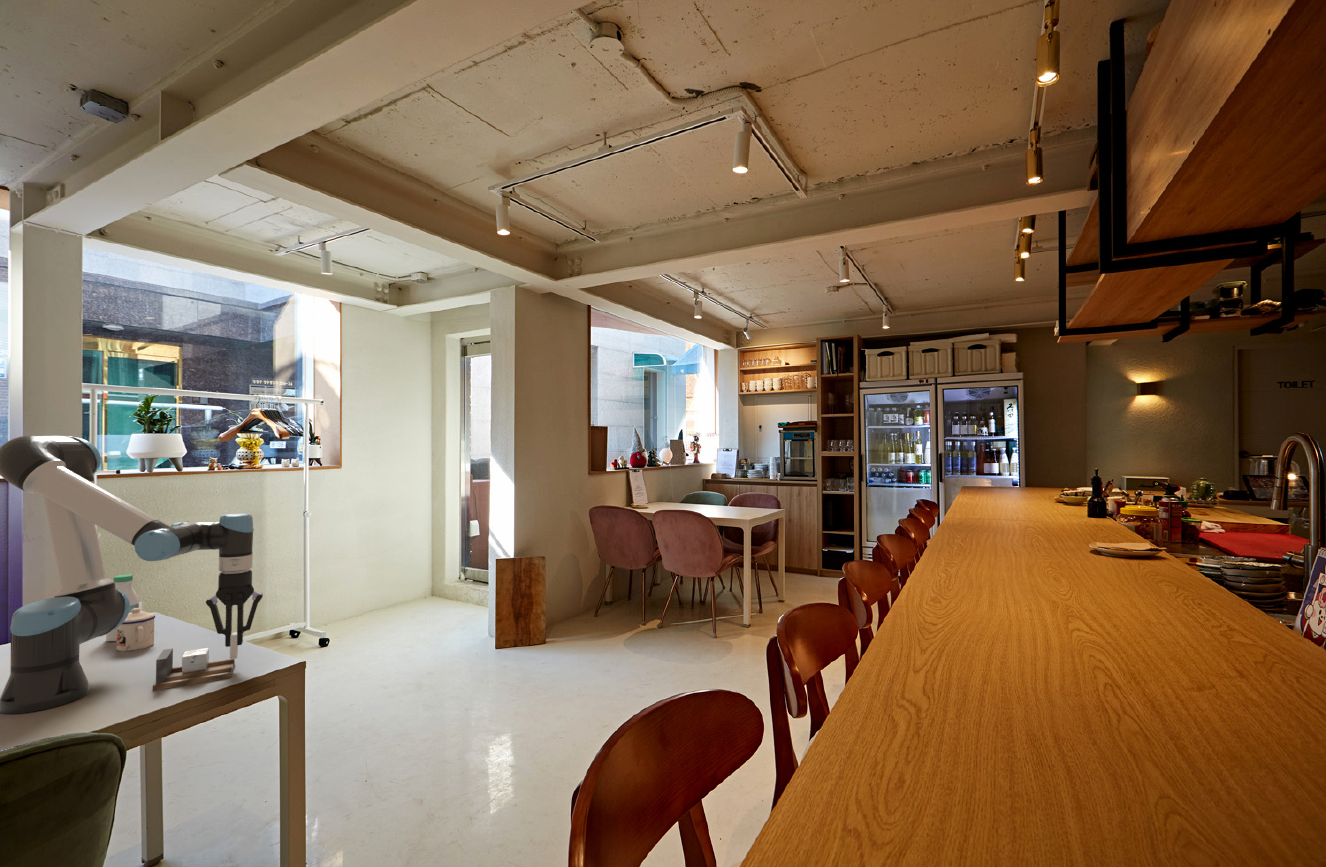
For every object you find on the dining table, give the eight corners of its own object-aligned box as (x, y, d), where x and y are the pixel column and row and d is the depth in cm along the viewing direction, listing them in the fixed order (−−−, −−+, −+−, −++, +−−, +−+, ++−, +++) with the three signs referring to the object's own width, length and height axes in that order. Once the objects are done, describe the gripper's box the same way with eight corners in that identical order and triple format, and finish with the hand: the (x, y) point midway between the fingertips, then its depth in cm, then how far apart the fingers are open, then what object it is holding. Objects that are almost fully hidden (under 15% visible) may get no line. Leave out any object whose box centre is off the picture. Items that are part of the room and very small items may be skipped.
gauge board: (152, 690, 151) (152, 661, 151) (161, 676, 160) (161, 648, 160) (230, 677, 159) (231, 650, 159) (234, 664, 169) (235, 638, 169)
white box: (179, 680, 153) (179, 661, 153) (185, 669, 161) (185, 651, 161) (204, 676, 156) (204, 657, 156) (208, 666, 163) (208, 647, 163)
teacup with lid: (112, 647, 183) (113, 609, 183) (151, 640, 190) (151, 603, 190) (120, 656, 176) (121, 616, 176) (160, 648, 183) (161, 609, 183)
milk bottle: (109, 644, 186) (110, 579, 187) (103, 639, 191) (104, 576, 192) (141, 637, 193) (142, 575, 193) (134, 633, 197) (135, 572, 198)
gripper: (203, 575, 158) (201, 666, 157) (263, 570, 165) (261, 657, 164) (207, 570, 164) (205, 657, 164) (264, 566, 171) (263, 649, 171)
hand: (233, 657), depth 164 cm, fingers closed
